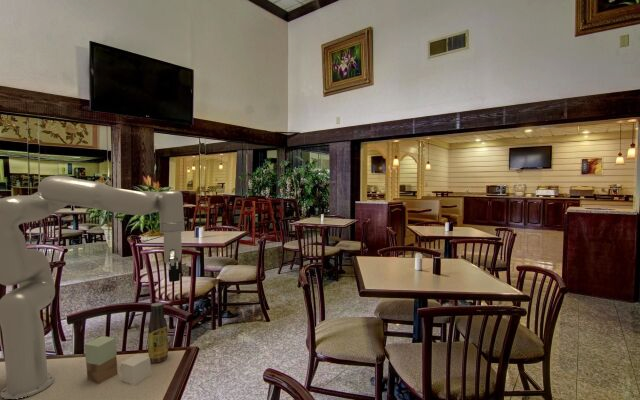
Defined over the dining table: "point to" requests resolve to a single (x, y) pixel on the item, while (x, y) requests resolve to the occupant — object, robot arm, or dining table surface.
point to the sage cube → (100, 350)
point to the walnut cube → (102, 371)
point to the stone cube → (135, 369)
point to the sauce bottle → (157, 334)
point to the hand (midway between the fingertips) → (175, 277)
